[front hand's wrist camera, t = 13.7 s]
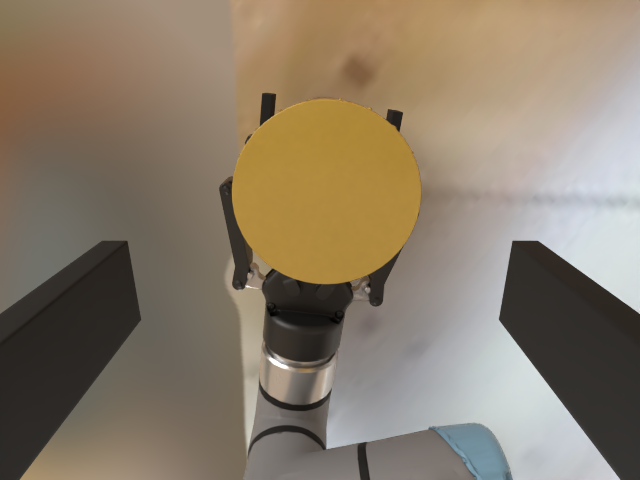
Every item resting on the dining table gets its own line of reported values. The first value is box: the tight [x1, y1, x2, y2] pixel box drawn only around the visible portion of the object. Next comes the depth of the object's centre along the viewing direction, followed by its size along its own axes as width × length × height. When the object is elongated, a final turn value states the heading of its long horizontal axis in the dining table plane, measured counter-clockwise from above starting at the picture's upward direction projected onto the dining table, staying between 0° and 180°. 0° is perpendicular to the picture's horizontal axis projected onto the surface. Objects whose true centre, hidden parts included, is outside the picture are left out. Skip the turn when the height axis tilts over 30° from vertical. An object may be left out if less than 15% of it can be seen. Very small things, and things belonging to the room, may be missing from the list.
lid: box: [232, 98, 421, 284], centre depth 23 cm, size 10×10×2 cm
